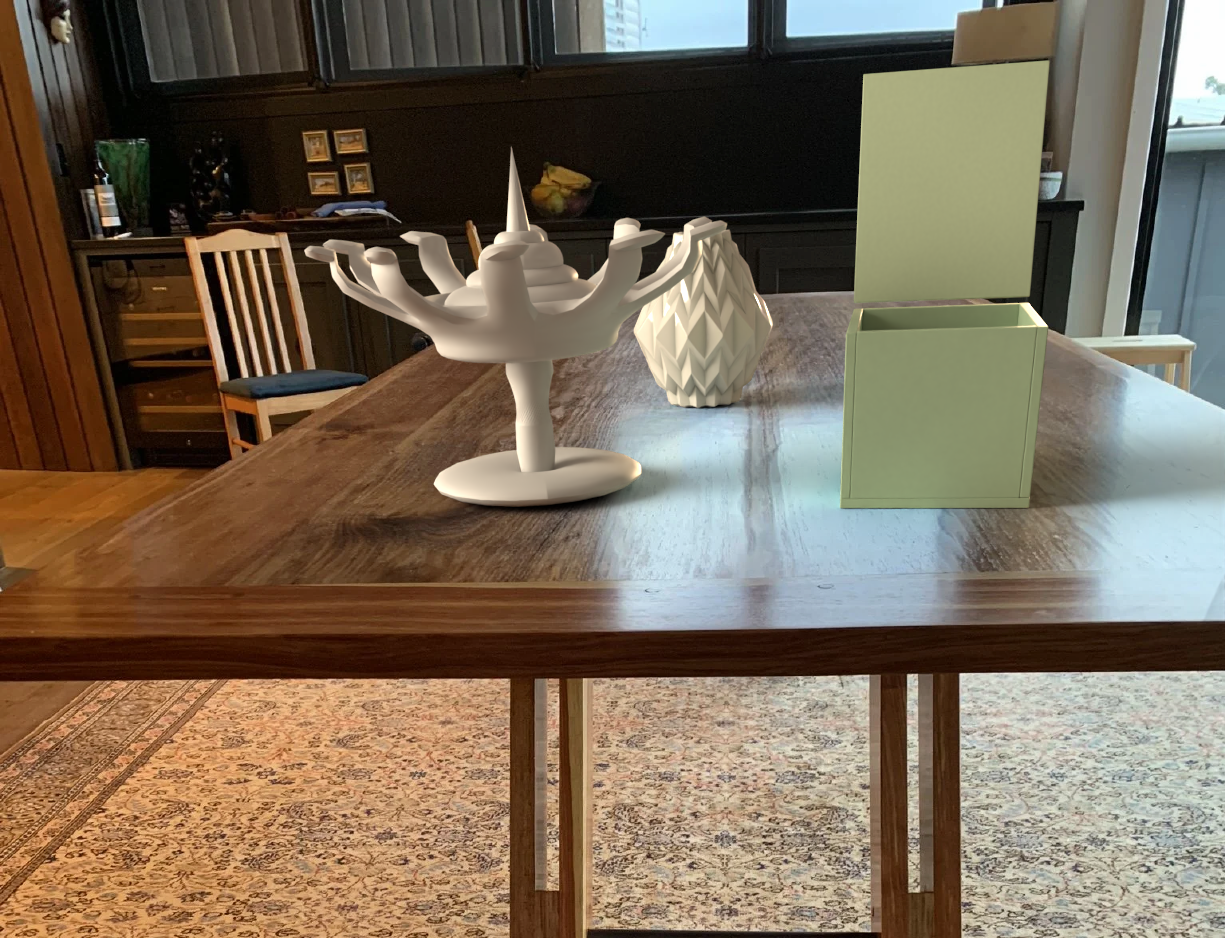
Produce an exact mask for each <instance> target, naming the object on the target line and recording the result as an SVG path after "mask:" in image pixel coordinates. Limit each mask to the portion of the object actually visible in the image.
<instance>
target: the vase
mask: <svg viewBox="0 0 1225 938" xmlns="http://www.w3.org/2000/svg"><path fill="white" fill-rule="evenodd" d="M683 238H684V231H679V232H674V233H673V234H672V242H671V245H669V246H668V247H667V249H666V253H665V257H664V259H663V260H662V262H661V263H660V265H659V266H658V268H657V269H656V271H655V272H657V271H658V270H659V269H660V268H661V267H663V266H664V265H665V264H666V263H667V262H668V261H669V260H671V259H672V258H673V257H674V256H675V255H676V254H677V252H678V250H679V248H680V246H681V243H682V241H683ZM773 326H774V320H773V318H772V316H771V314H770V311H769V308H768V306H767V304H766V302H765V300H764V299H763V298H762V296H761V295H760V294H759V292H758V291H757V289H756V286H755V283H754V279H753V276H752V272H751V269H750V266H749V264H748V263H747V261H746V260H745V259H744V257H742V255H741V254H740V251H739V248H738V245H737V243H736V242H735V241H733V239H732V233H731V230H730V229H726V230H724V231H722V232H720V233H718V234H716V235H715V236H712V237H709V238H706V239H703V240H702V255H701V257H700V259H699V261H698V263H697V266H696V268H695V270H694V271H693V272H691V273H690V274H689V275H688V276H686V277H685V278H684V279H683V280H681V281H680V282H679V283H678V284H676V285H675V286H674V287H673V288H671V289H670V290H669V291H667V292H666V293H664V294H662V295H661V296H659V297H658V298H656V299H654V300H653V301H651V302H650V303H648V304H646V305H645V306H643V307H642V308H641V311H640V313H639V315H638V318H637V320H636V323H635V325H634V327H633V334H634V337H635V338H636V340H637V343H638V345H639V348H640V349H641V351H642V353H643V356H644V357H645V360H646V362H647V365H648V368H649V371H650V372H651V374H652V376H653V378H654V380H655V383H656V385H657V386H658V387H660V388H661V389H663V390H664V391H665V392H666V396H667V401H668V402H669V404H670V405H672V406H676V407H677V406H680V407H681V408H690V407H694V408H696V409H701V408H704V407H708V408H715V407H717V406H729V405H731V404H735V403H738V402H740V401H741V398H742V395H743V389H744V387H745V386H746V385H747V384H749V383H750V382H751V381H752V379H753V377H754V375H755V372H756V370H757V367H758V365H759V362H760V359H761V356H762V353H763V352H764V351H765V349H766V346H767V343H768V340H769V337H770V334H771V332H772V329H773Z"/></svg>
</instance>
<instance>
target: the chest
mask: <svg viewBox="0 0 1225 938" xmlns="http://www.w3.org/2000/svg"><path fill="white" fill-rule="evenodd" d="M847 326H848V327H847V330H846V332H845V349H844V350H845V352H844V355H845V356H844V379H843V406H842V407H843V408H842V410H843V411H842V437H841V438H842V439H841V462H840V463H841V464H840V467H841V468H840V494H839V508H840V509H1029V508H1030V501H1031V491H1032V484H1033V483H1032V482H1033V473H1034V465H1035V464H1034V463H1035V457H1036V455H1035V454H1036V446H1037V437H1038V427H1039V420H1040V419H1039V418H1040V411H1041V410H1040V409H1041V400H1042V390H1043V380H1044V373H1045V363H1046V353H1047V345H1048V336H1049V326H1048V325H1047V324H1046V322H1045V321H1044V320H1043V319H1042V317H1041V316H1040V315H1039V314H1038V313H1037V311H1036V310H1035V309H1034V308H1033V307H1032V306H1031V304H1030V303H1029V302H1019V303H1018V302H1010V303H1008V302H1007V303H980V304H978V303H977V304H955V305H952V304H951V305H950V304H949V305H925V306H924V305H923V306H894V307H893V306H891V307H867V308H866V307H865V308H854V309H853V311H852V313H851V316H850V320H849V323H848V325H847Z"/></svg>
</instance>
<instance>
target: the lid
mask: <svg viewBox="0 0 1225 938" xmlns="http://www.w3.org/2000/svg"><path fill="white" fill-rule="evenodd" d="M1049 72H1050V60H1038V61H1037V60H1036V61H1035V60H1034V61H1024V62H1010V63H1009V62H1008V63H998V64H997V63H996V64H983V65H982V64H981V65H970V66H969V65H968V66H956V67H941V68H928V69H927V68H926V69H916V70H901V71H900V70H899V71H889V72H875V73H864V74H863V76H862V77H863V78H862V79H863V80H862V83H863V84H862V100H861V101H862V104H861V123H860V124H861V125H860V127H861V128H860V146H859V147H860V148H859V149H860V151H859V174H858V197H857V220H856V223H857V224H856V242H855V243H856V244H855V264H854V265H855V267H854V290H853V303H854V304H865V303H866V304H867V303H869V304H870V303H871V304H872V303H894V302H896V303H898V302H923V301H953V300H956V301H957V300H981V299H1009V298H1029V297H1030V296H1031V288H1032V287H1031V285H1032V273H1033V263H1034V251H1035V250H1034V249H1035V237H1036V228H1037V227H1036V226H1037V215H1038V214H1037V213H1038V205H1039V204H1038V203H1039V191H1040V190H1039V189H1040V181H1041V180H1040V179H1041V167H1042V156H1043V145H1044V131H1045V122H1046V121H1045V120H1046V108H1047V99H1048V98H1047V97H1048V85H1049V74H1050V73H1049Z"/></svg>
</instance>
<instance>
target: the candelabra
mask: <svg viewBox="0 0 1225 938" xmlns="http://www.w3.org/2000/svg"><path fill="white" fill-rule="evenodd" d="M509 163H510V164H509V165H510V166H509V178H508V179H509V182H508V197H507V198H508V200H507V216H506V230H505V231H501V232H499V233H498V234H497V235H495V238H494V241H493V243H492V244H489V245H487V246H486V247H485V248H484V249H482V251H481V253H480V254H479V257H478V261H477V263H478V264H477V266H478V269H477V270H475V271H473V272H471V273H470V274H469V275H468V276H467V278H465V277H464V276H463V275H462V273H461V272H460V271H459V269H458V268H457V267H456V265H455V263H454V261H453V259H452V256H451V254H450V250H449V247H448V242H447V239H446V238H445V236H444V235H441V234H437V233H433V232H427V231H425V232H424V231H414V230H411V231H408V232H406V233H403V234H401V235H399V237H400V238H402V239H403V240H404V241H405V242H406V243H409V244H412V245H417V246H418V257H419V261H420V264H421V267H422V270H423V272H424V273H425V274H426V275H427V277H428V278H429V279H430V280H431V282H432V283H433V285H434V286H435V287H436V289H437V290H438V292H439V293H438V294H432V295H428V296H423V295H422V294H420V293H419V292H418V291H416V290H415V289H414V288H413V287H412V286H409V284H408V282H407V281H406V279H405V277H404V276H403V275H402V273H401V269H400V264H399V260H398V256H397V254H396V253H395V252H394V250H392V249H391V248H386V247H380V246H374V247H371V248H368V249H366V248H365V244H364V243H361V242H354V241H349V240H342V239H328V240H327V241H325V242H324V243H322V246H315V245H309V246H307V247H306V248H305V249H304V253H305V256H306V257H308V258H310V259H313V260H316V261H319V262H325V263H329V267H330V273H331V277H332V279H333V281H334V282H335V283H336V285H337V286H338V287H339V290H341V292H342V293H343V294H344V295H347V296H348V297H351V298H352V299H353V300H355V301H358V302H359V303H361V304H363V305H365V306H367V307H369V308H370V309H373V310H376V311H378V312H381V313H383V314H385V315H387V316H390V317H392V318H394V319H396V320H398V321H401V322H404V323H405V324H407V325H410V326H412V327H414V328H416V329H419V330H420V331H422V332H423V333H425V334H426V335H428V336H429V337H430V338H431V340H432V342H433V343H434V346H435V349H436V351H437V353H438V354H439V355H440V356H441V357H442V358H443V357H444V358H445V359H448V360H453V361H458V362H465V363H476V364H505V375H506V377H507V380H508V382H509V385H510V388H511V390H512V394H513V397H514V402H515V408H516V409H515V411H516V414H515V415H516V416H515V440H516V441H515V442H516V443H515V445H516V449H512V450H504V451H500V452H494V453H489V454H483V455H479V456H475V457H472V458H470V459H466V460H463V461H460V462H457V463H455V464H453V465H451V466H449V467H447V468H445V469H443V470H442V471H440V472H439V473H438V475H437V476H436V478H435V479H434V482H433V485H434V487H435V488H436V489H437V491H438V492H439V493H440V494H441V495H442V496H445V497H447V498H450V499H452V500H456V501H459V502H462V503H465V504H466V503H467V504H473V505H480V506H489V507H517V508H518V507H537V506H538V507H539V506H550V505H559V504H566V503H567V504H568V503H574V502H579V501H583V500H588V499H592V498H597V497H603V496H606V495H609V494H612V493H614V492H617V491H619V490H622V489H625V488H626V487H628V486H630V485H631V484H632V483H634V482H635V481H637V480H638V479H639V478H640V477H641V474H642V465H641V464H640V462H639V461H637V460H635V459H633V458H632V457H630V456H629V455H626V454H624V453H619V452H616V451H612V450H607V449H600V448H589V447H580V446H556V442H555V435H554V434H555V433H554V426H553V425H554V423H553V418H552V415H551V411H550V390H551V385H552V378H553V374H554V363H553V361H556V360H563V359H564V360H565V359H570V358H577V357H581V356H582V357H583V356H586V355H591V354H594V353H597V352H598V353H599V352H600V351H603V350H607V349H609V348H610V347H612V346H614V345H615V344H616V342H617V340H618V338H619V332H620V329H621V326H622V324H623V323H624V322H625V321H627V320H628V319H629V318H631V316H632V315H634V314H635V313H636V312H638V311H640V309H642V308H643V306H645V305H646V304H648V303H650V302H651V301H653V300H654V299H656V298H658V297H659V296H661V295H662V294H664V293H666V292H667V291H669V290H670V289H671V288H673V287H674V286H675V285H676V284H678V283H679V282H680V281H681V280H683V279H684V278H685V277H686V276H688V275H689V274H690V273H691V272H693V271H694V270H695V268H696V266H697V263H698V261H699V259H700V257H701V255H702V240H703V239H706V238H709V237H712V236H715V235H716V234H718V233H720V232H722V231H724V230H727V226H728V222H725V221H724V220H716V221H713V220H712V219H709V217H706V216H701V217H698V218H695V219H692V220H691V221H689V222H687V223H685V224H684V226H683V232H684V238H683V241H682V243H681V246H680V248H679V250H678V252H677V254H676V255H675V256H674V257H673V258H672V259H671V260H669V261H668V262H667V263H666V264H665V265H664V266H663V267H661V268H660V269H659V270H658V271H657V270H656V271H657V272H656V271H655V272H654V273H651V274H649V275H648V276H646V277H644V278H642V279H640V280H639V281H638V279H639V276H640V272H641V267H642V264H643V253H642V248H644V247H647V246H650V245H652V244H656V243H657V242H658V241H660V240H661V239H662V238H663V237H664V236H665V235H666V233H665V232H662V231H658V230H655V229H647V230H642V231H640V228H641V223H640V222H639V220H636V219H635V218H630V217H625V218H620V219H618V220H616V221H615V223H614V227H613V228H614V229H613V239H611V240H610V243H609V245H608V257H607V259H606V260H605V262H604V264H603V265H602V266H601V267H600V269H599V270H598V271H597V272H596V273H594V274H593V275H592V276H591V277H589V279H587V280H586V279H582V278H579V274H578V272H577V270H576V269H575V268H573V266H570V265H567V264H564V256H563V252H562V251H561V249H560V248H559V247H558V246H557V244H556V243H553V242H552V241H549V239H548V233H547V231H546V230H544V229H543V228H541V227H539V226H538V225H536V224H530V222H529V220H528V215H527V210H526V206H525V201H524V197H523V193H522V188H521V183H520V178H519V174H518V169H517V166H516V161H515V156H514V152H513V148H512V146H510V161H509ZM337 253H338V254H342V255H347V256H348V263H349V269H350V271H351V273H352V274H353V276H354V278H355V279H356V281H357V283H355V282H353V281H352V280H351V279H349V278H348V276H347V275H346V273H345V272H344V271H343V270H342V269H341V267H340V266H339V262H338V257H337Z"/></svg>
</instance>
